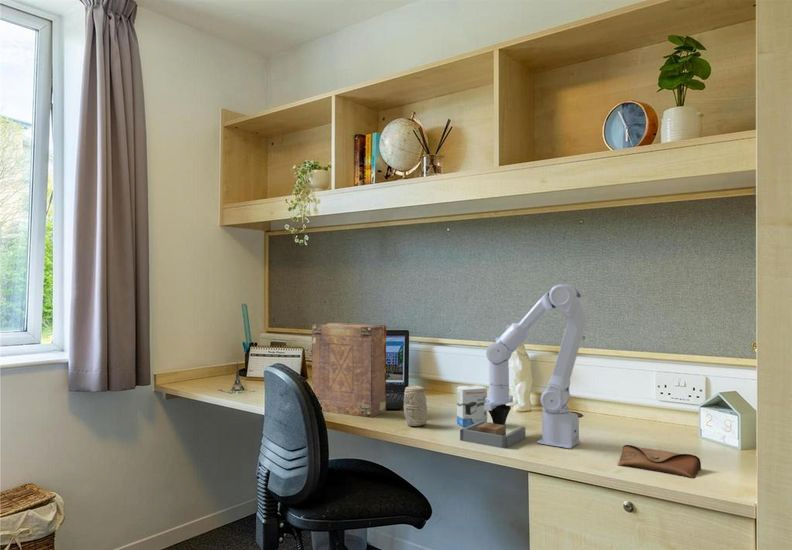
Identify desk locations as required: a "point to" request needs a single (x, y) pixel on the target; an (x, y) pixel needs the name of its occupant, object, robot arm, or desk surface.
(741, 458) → the desk surface
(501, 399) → the robot arm
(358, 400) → the book
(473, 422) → the ink box
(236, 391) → the eiffel tower figurine
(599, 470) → the desk surface
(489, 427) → the brown wooden block
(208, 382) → the desk surface
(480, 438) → the box
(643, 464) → the sunglasses case
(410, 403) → the carving
